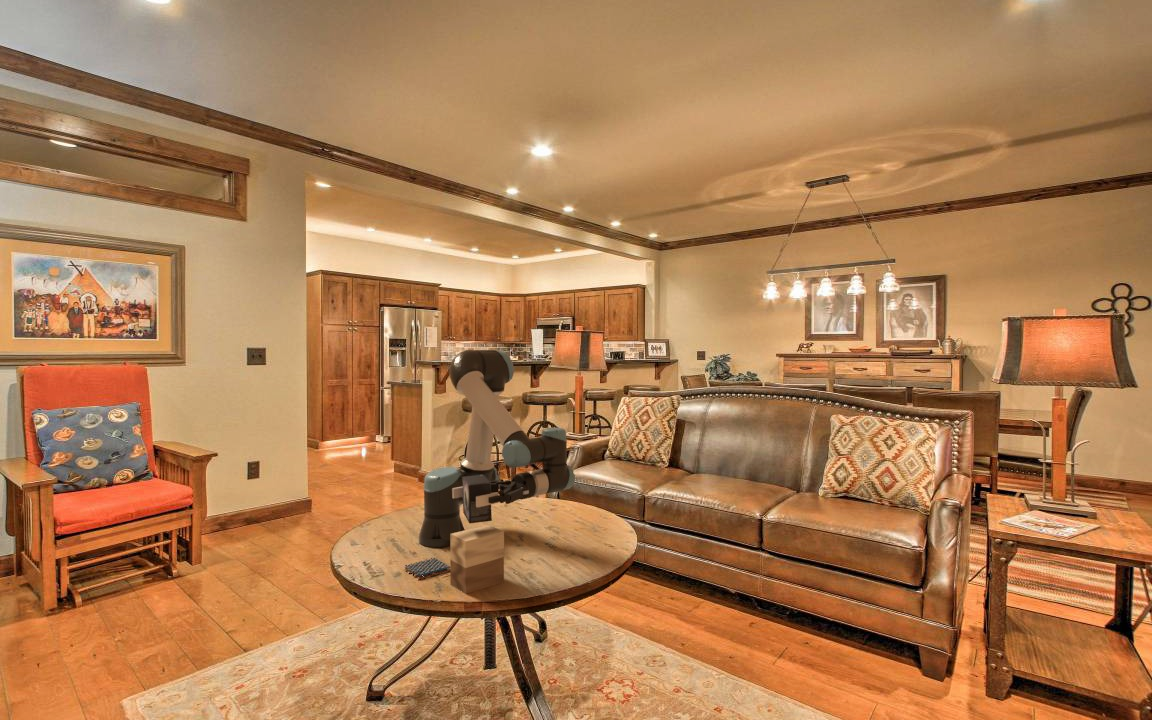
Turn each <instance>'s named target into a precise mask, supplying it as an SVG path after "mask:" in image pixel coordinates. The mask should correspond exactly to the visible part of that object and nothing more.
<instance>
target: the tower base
mask: <svg viewBox="0 0 1152 720" xmlns="http://www.w3.org/2000/svg"><path fill="white" fill-rule="evenodd" d="M449 561H450V565H449V566H450V571H449V572H450V582H449V583H450V585H451V586H452V587H454V588H456V590H459V591H460V592H461V591H462V592H461V593H463V594H465V595H467V593H468V594H470V592H471V593H472V592H473V591H474V592H475V591H479V590H482V589H485V588H489V587H492V586H495V585H497V584H501V583H503V582H505V556H504V557H502V558H499V559H495V560H492V561H489V562H485V563H482V564H478V565H475V566H471V567H468V568H464V567H463V566H461V565H459V564H457V563H456V562H454V561H452V560H451V559H450V560H449ZM474 592H473V593H474Z"/></svg>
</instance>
